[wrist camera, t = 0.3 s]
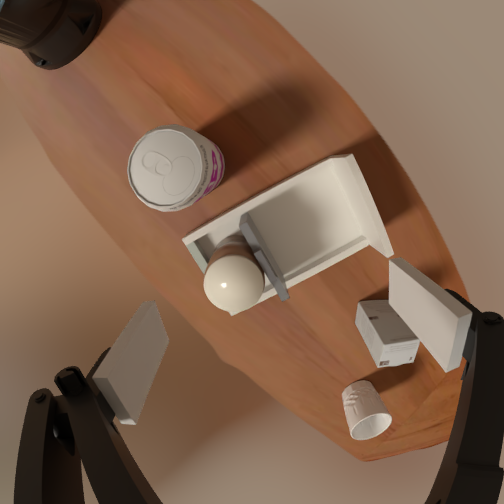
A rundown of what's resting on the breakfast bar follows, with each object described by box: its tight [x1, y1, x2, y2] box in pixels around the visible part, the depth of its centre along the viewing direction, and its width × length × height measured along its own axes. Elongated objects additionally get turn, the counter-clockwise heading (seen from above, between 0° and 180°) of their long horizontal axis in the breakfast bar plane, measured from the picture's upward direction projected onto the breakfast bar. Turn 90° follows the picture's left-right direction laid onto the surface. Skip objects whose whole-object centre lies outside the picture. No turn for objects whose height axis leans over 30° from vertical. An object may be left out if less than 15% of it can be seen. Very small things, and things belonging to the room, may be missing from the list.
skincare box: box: [355, 300, 420, 368], centre depth 39 cm, size 6×4×12 cm
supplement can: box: [127, 124, 225, 211], centre depth 31 cm, size 8×8×15 cm
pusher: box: [239, 212, 290, 301], centre depth 36 cm, size 10×1×8 cm, turn 29°
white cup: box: [342, 380, 392, 440], centre depth 45 cm, size 8×8×10 cm
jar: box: [203, 235, 265, 312], centre depth 36 cm, size 7×7×9 cm
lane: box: [182, 154, 394, 316], centre depth 36 cm, size 13×23×9 cm, turn 119°
